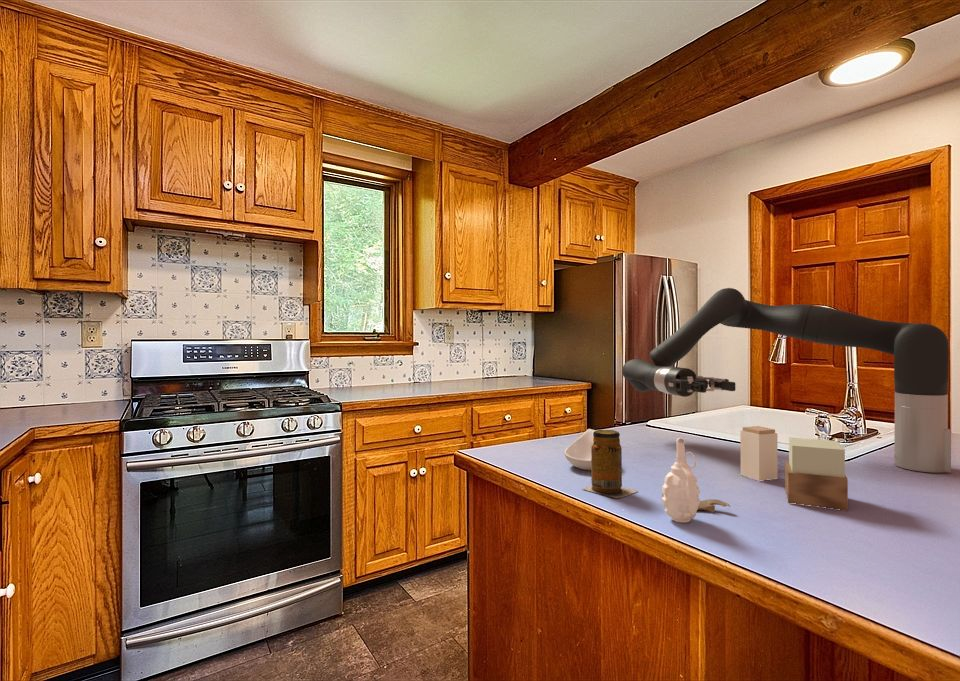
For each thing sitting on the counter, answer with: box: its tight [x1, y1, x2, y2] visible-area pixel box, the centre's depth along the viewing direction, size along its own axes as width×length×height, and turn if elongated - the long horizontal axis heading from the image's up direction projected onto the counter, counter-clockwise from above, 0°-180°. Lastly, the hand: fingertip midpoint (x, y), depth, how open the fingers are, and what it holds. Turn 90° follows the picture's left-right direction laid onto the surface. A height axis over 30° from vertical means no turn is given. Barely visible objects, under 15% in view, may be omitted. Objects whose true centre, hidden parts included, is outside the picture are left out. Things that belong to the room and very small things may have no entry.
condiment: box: [582, 429, 639, 499], centre depth 103 cm, size 7×8×12 cm
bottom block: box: [784, 461, 849, 512], centre depth 96 cm, size 9×9×6 cm
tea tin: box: [740, 425, 779, 481], centre depth 111 cm, size 5×5×11 cm
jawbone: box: [661, 493, 731, 514], centre depth 99 cm, size 9×20×2 cm, turn 10°
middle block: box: [788, 437, 846, 478], centre depth 96 cm, size 8×8×5 cm
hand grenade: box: [661, 437, 701, 524], centre depth 86 cm, size 8×6×14 cm
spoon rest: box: [563, 428, 597, 471], centre depth 126 cm, size 24×12×7 cm, turn 163°
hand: (719, 387), depth 121 cm, fingers open, 8 cm apart
